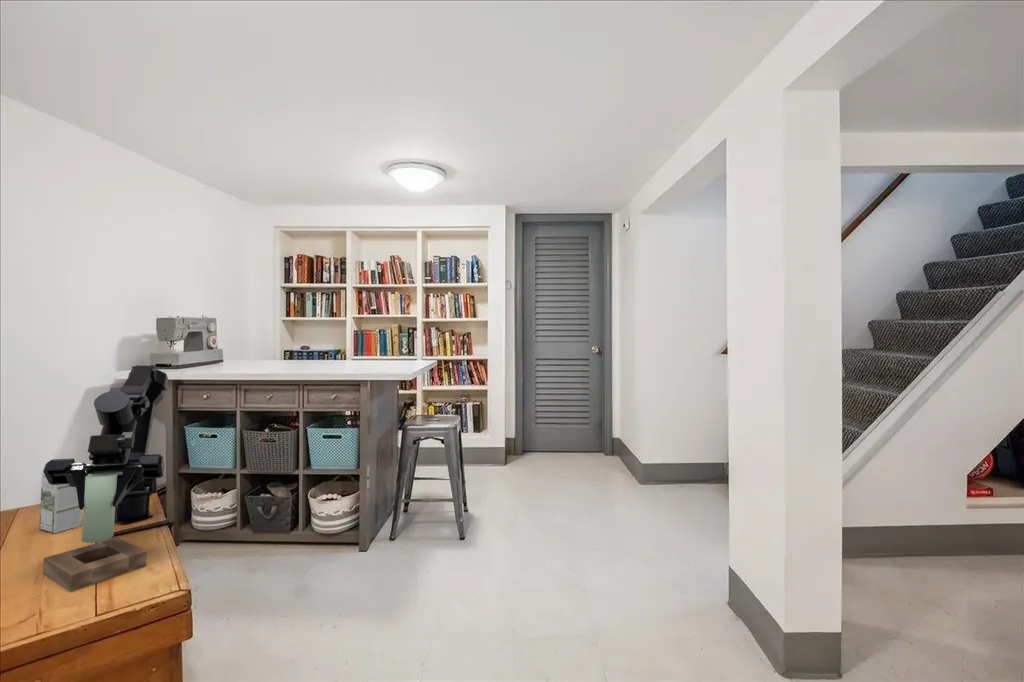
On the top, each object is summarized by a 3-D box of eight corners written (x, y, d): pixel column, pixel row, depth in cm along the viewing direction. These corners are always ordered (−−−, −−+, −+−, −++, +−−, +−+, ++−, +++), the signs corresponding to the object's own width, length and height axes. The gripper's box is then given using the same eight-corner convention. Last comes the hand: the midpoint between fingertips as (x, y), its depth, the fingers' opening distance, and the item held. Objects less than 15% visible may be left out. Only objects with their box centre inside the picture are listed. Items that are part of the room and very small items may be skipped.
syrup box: (82, 526, 115) (86, 466, 115) (52, 534, 109) (56, 472, 109) (67, 521, 117) (71, 463, 117) (37, 530, 111) (41, 468, 111)
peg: (106, 530, 98) (110, 470, 98) (118, 536, 95) (122, 474, 95) (77, 538, 93) (80, 475, 93) (88, 544, 91) (92, 480, 91)
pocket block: (116, 553, 102) (117, 537, 102) (145, 568, 97) (146, 551, 97) (42, 575, 92) (43, 558, 92) (70, 594, 86) (71, 575, 86)
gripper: (50, 419, 93) (22, 492, 84) (165, 417, 102) (152, 482, 93) (62, 449, 100) (37, 520, 91) (169, 445, 109) (157, 509, 100)
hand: (97, 507), depth 93 cm, fingers closed on peg, 5 cm apart
